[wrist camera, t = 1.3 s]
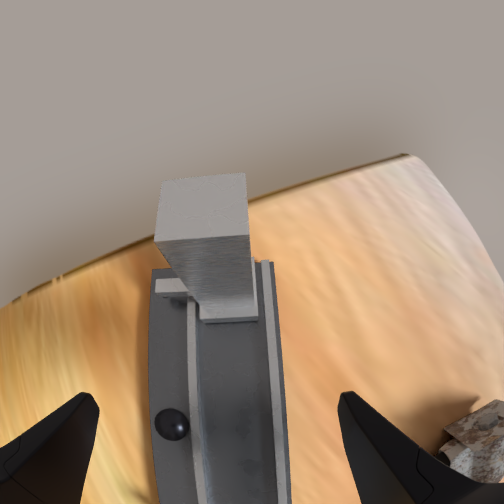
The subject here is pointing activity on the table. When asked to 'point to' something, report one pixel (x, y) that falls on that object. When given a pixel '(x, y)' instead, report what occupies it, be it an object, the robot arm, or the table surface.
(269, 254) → the table surface
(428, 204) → the table surface
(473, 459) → the caster wheel
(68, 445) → the robot arm
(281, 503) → the rail
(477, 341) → the table surface
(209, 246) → the block
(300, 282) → the table surface
